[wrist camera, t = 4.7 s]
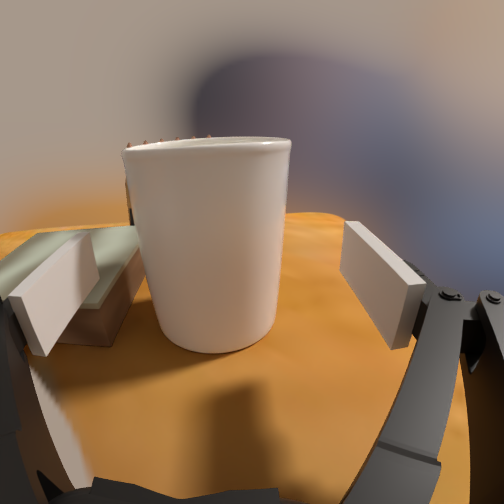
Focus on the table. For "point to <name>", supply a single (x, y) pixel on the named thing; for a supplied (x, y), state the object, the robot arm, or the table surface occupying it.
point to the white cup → (211, 235)
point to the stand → (103, 293)
